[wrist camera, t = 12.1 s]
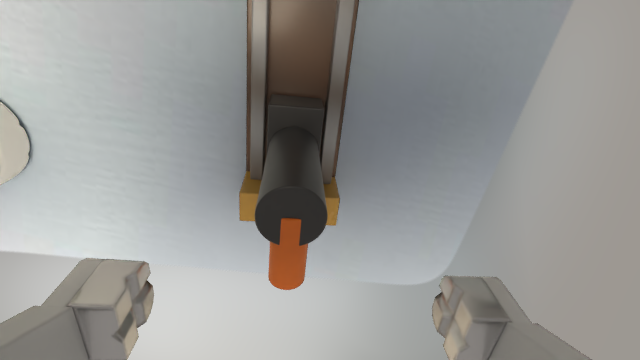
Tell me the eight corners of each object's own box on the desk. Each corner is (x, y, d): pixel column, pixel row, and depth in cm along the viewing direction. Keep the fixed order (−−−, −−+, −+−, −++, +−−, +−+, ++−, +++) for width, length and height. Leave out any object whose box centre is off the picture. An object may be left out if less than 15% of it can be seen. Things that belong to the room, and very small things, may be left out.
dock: (246, 170, 23) (239, 192, 20) (335, 176, 23) (340, 198, 20) (246, 196, 23) (239, 221, 21) (331, 201, 24) (336, 226, 21)
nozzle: (271, 93, 20) (252, 156, 12) (321, 98, 20) (338, 162, 12) (268, 184, 23) (250, 289, 14) (312, 187, 23) (320, 291, 15)
